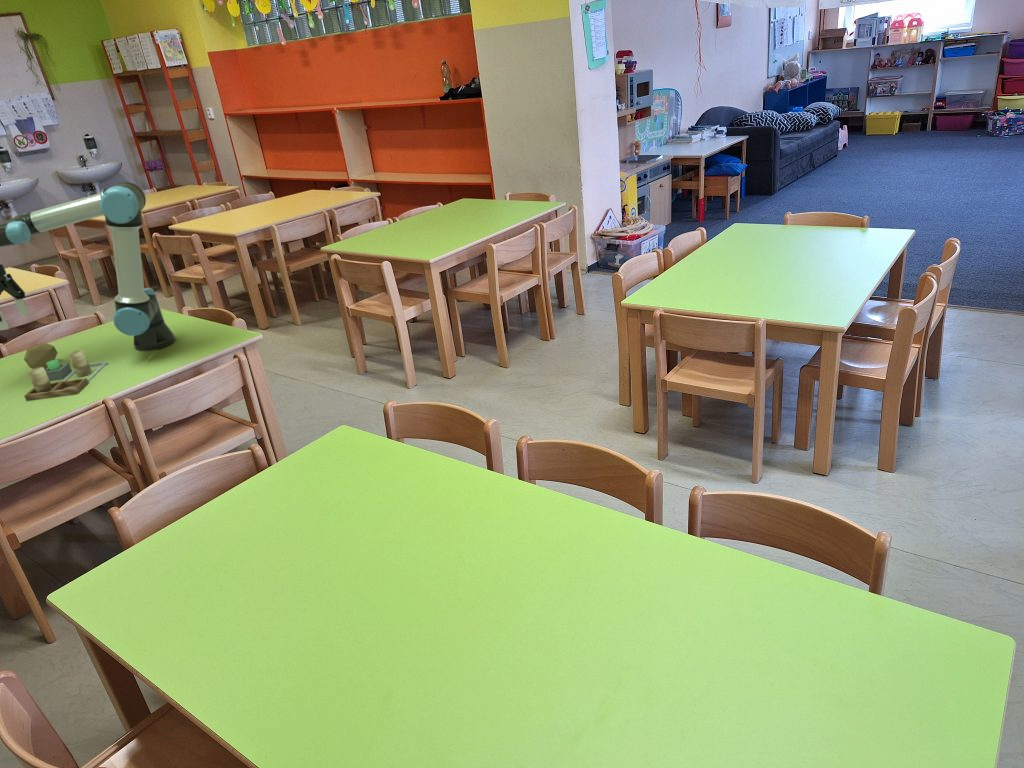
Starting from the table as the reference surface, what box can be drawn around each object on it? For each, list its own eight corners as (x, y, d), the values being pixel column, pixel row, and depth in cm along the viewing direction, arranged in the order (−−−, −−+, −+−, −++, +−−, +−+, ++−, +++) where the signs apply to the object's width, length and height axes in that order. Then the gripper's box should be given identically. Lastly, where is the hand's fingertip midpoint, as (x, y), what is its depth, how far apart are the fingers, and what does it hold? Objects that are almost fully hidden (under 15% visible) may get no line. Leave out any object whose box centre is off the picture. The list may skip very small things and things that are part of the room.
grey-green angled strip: (108, 365, 273) (107, 361, 272) (90, 383, 258) (88, 379, 257) (81, 369, 273) (79, 365, 272) (60, 387, 258) (59, 383, 257)
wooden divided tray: (89, 385, 257) (86, 377, 256) (78, 396, 249) (75, 388, 248) (40, 391, 256) (37, 384, 255) (27, 403, 248) (24, 395, 247)
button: (65, 372, 267) (59, 358, 265) (60, 376, 264) (54, 363, 261) (55, 373, 267) (49, 360, 264) (50, 378, 263) (44, 364, 261)
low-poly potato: (43, 377, 270) (67, 354, 274) (17, 358, 265) (41, 335, 269) (42, 376, 282) (65, 355, 286) (17, 358, 277) (40, 336, 281)
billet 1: (56, 389, 254) (46, 366, 250) (49, 395, 250) (39, 372, 246) (42, 391, 254) (32, 368, 250) (35, 397, 250) (24, 374, 246)
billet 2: (94, 371, 267) (85, 349, 264) (88, 377, 263) (79, 354, 259) (81, 373, 267) (72, 351, 263) (75, 378, 263) (65, 356, 259)
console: (73, 373, 269) (68, 362, 267) (64, 381, 263) (59, 370, 261) (54, 376, 269) (49, 365, 267) (45, 384, 263) (40, 373, 261)
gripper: (-1, 257, 262) (23, 311, 271) (-44, 278, 240) (-16, 336, 249) (20, 255, 262) (43, 309, 271) (-21, 275, 240) (6, 333, 249)
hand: (15, 322), depth 260 cm, fingers open, 13 cm apart
